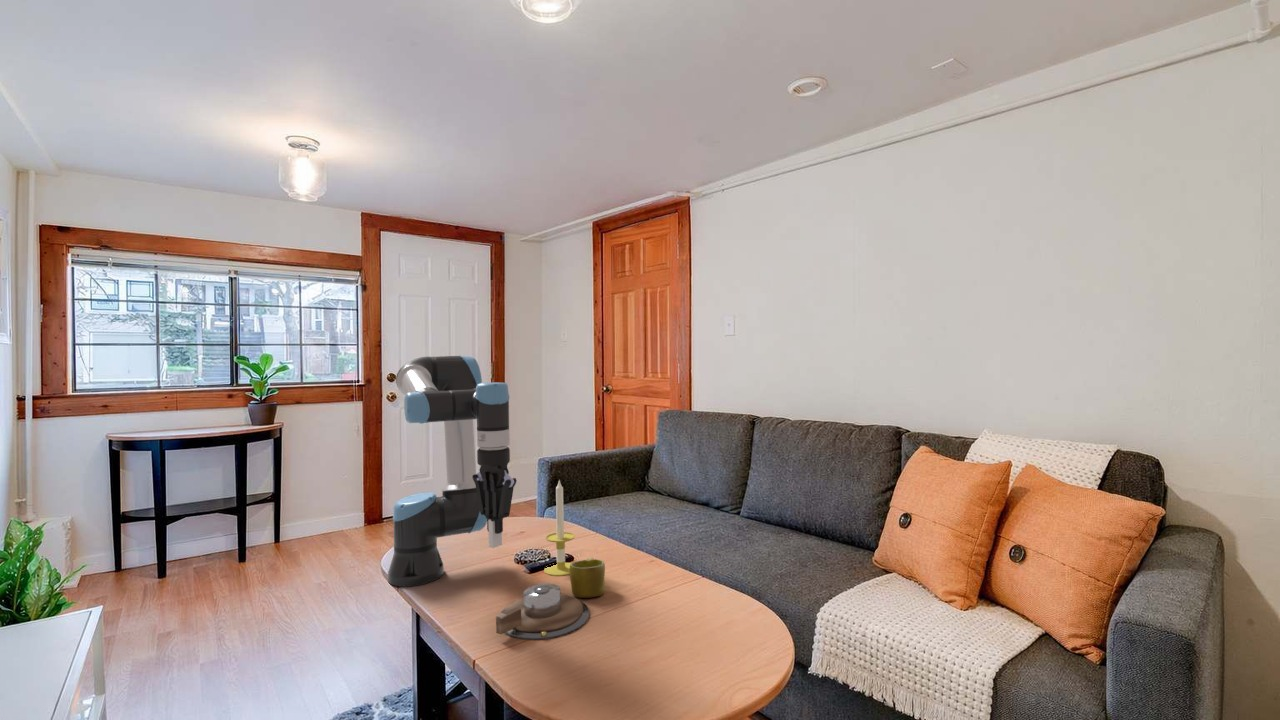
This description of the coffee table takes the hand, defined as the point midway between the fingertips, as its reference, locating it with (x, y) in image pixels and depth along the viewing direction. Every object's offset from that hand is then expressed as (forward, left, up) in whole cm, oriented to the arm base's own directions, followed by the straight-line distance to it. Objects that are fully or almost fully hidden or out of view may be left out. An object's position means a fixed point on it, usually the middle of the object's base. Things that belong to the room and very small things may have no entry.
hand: (495, 545), depth 136 cm
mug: (+6, +26, -19) cm, 33 cm away
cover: (+7, +8, -17) cm, 20 cm away
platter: (+7, +6, -18) cm, 20 cm away
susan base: (+7, +8, -18) cm, 21 cm away
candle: (-11, +33, -19) cm, 40 cm away
